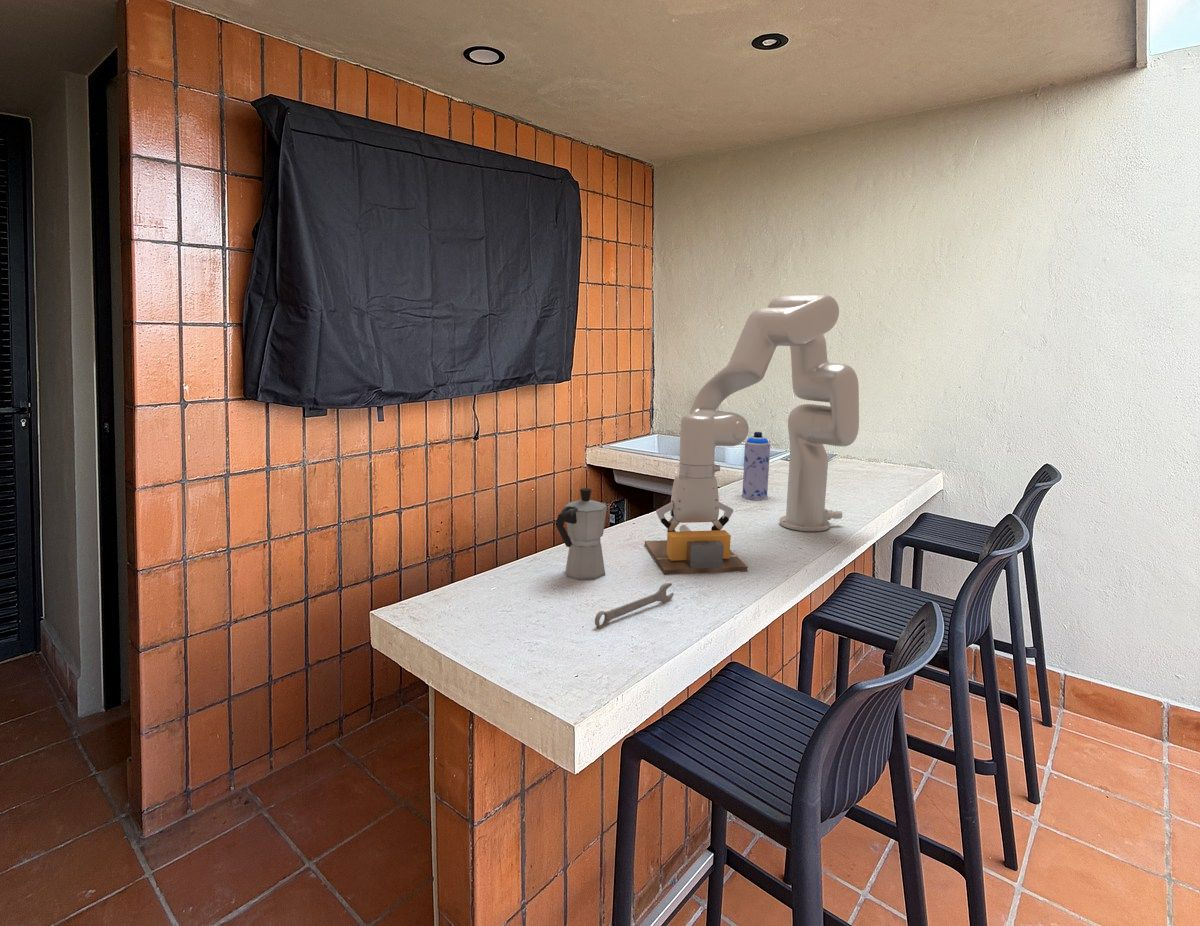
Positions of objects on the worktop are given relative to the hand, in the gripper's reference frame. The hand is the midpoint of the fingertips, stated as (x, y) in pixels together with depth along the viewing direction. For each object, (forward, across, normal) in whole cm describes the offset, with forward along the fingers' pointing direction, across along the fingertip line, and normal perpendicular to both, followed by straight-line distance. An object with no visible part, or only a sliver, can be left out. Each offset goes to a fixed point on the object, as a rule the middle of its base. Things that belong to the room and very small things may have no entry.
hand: (693, 546), depth 155 cm
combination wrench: (+3, +18, +29) cm, 34 cm away
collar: (+1, 0, +4) cm, 4 cm away
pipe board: (+3, 0, 0) cm, 3 cm away
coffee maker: (+3, +26, +8) cm, 27 cm away
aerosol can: (+3, -34, -53) cm, 63 cm away
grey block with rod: (+2, 0, +1) cm, 2 cm away
